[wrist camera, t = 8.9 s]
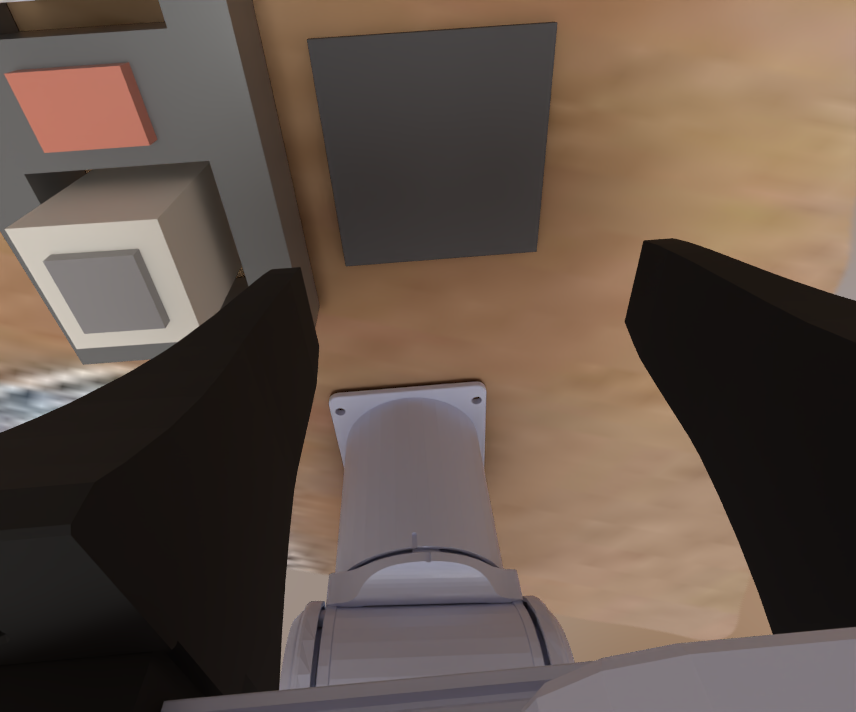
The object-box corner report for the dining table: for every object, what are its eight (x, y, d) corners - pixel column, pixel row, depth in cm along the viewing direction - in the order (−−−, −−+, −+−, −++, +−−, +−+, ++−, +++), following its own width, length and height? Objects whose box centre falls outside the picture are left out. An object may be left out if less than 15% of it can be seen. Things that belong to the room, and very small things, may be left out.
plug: (247, 254, 20) (201, 347, 15) (149, 261, 20) (70, 356, 15) (217, 153, 18) (151, 225, 13) (106, 160, 18) (-6, 235, 13)
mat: (535, 248, 21) (536, 251, 21) (346, 262, 21) (345, 266, 21) (554, 21, 16) (557, 22, 16) (308, 38, 16) (307, 39, 16)
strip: (331, 358, 24) (317, 454, 19) (143, 373, 24) (82, 474, 19) (167, -384, 11) (1, -649, 6) (-248, -361, 11) (-739, -617, 6)
